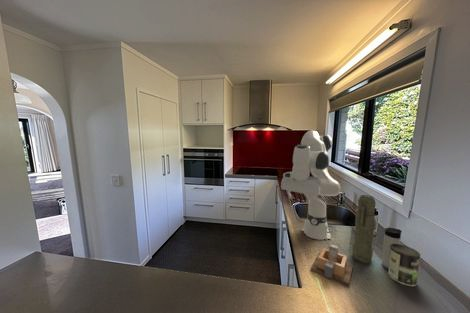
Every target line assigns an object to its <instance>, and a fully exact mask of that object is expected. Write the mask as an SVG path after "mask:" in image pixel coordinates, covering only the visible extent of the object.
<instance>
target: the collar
mask: <svg viewBox="0 0 470 313" xmlns="http://www.w3.org/2000/svg"><path fill="white" fill-rule="evenodd" d="M319 253H320V255H319V257H318V268H321V269H323V270H325V274H324V275H325V276H327V277H329V278H328V279H330V278H332V276H333V274H335V275H338V276H340V277H342V278H343V277H344V273H345V269H346V266H347V263H348V262H347V261H348V256H347V255H345V254H342V253H339V252H338V259H337V263H336V262H333V261H331V260H328V255H329V248H328V249H327V248H325V247H323V248H322V250H321V252H319ZM325 276H324V277H325ZM327 277H326V278H327Z"/></svg>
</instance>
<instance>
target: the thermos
mask: <svg viewBox="0 0 470 313" xmlns="http://www.w3.org/2000/svg"><path fill="white" fill-rule="evenodd" d="M375 212H376V199H375V197H374V196H371V195H368V194H361V195H360V196H359V198H358V200H357V211H356V214H355V217H354V218H355V219H354V220H355V222H354V226H355V232H354V243H353V244H352V258H353V259H354V260H356V261H358V262H360V263H363V264H371V263H372V259H373V255H374V254H373V253H374V252H373V250H374V249H373V238H374V231H375V229H376V217H375Z"/></svg>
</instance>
